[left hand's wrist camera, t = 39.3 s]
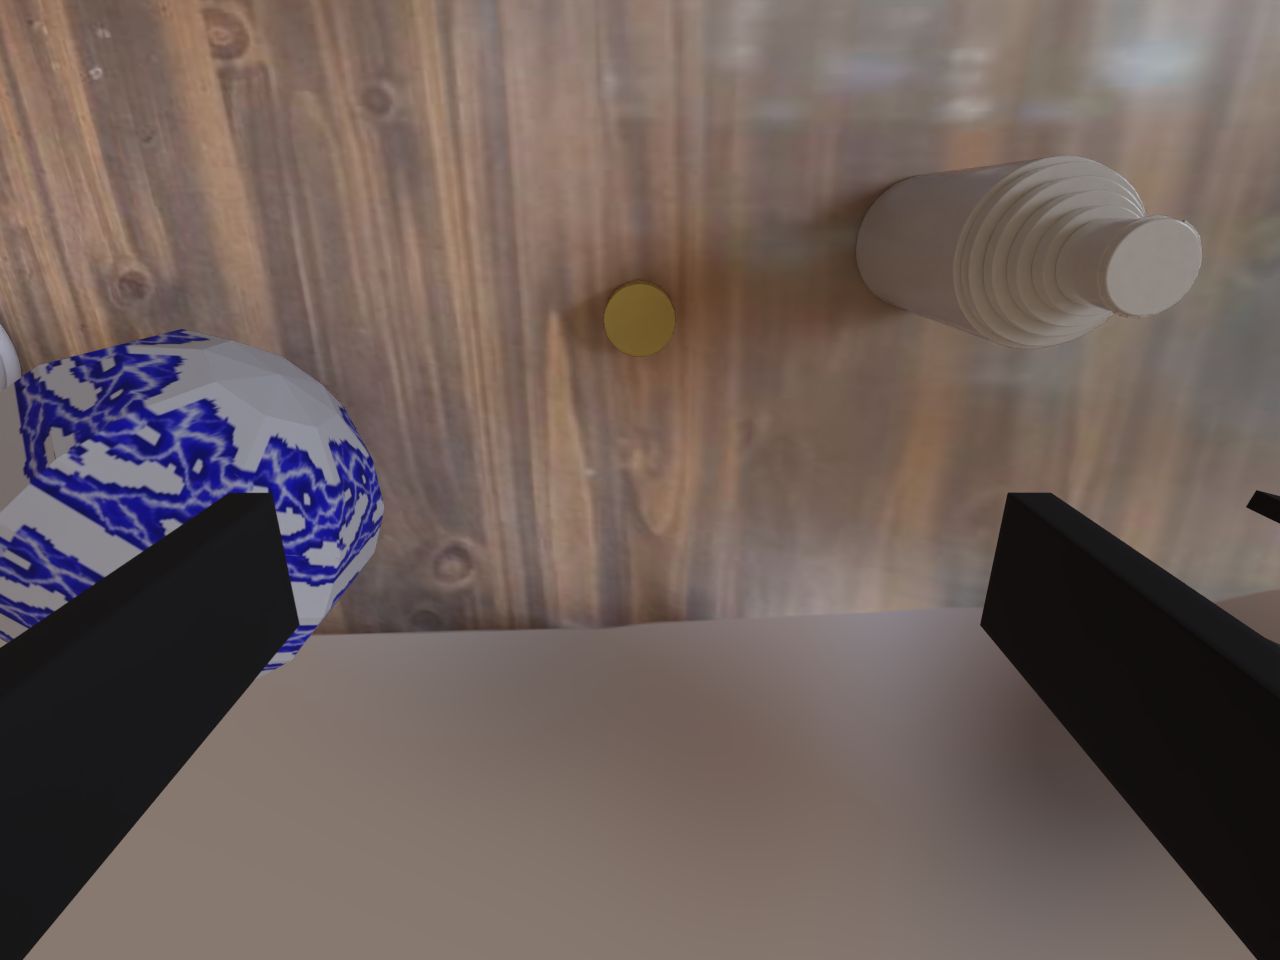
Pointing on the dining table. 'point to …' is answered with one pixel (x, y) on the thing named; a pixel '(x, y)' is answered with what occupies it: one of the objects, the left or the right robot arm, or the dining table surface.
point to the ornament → (175, 469)
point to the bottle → (1025, 250)
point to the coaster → (8, 361)
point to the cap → (639, 318)
